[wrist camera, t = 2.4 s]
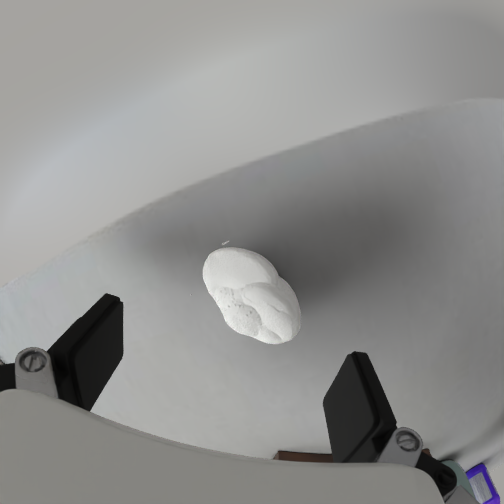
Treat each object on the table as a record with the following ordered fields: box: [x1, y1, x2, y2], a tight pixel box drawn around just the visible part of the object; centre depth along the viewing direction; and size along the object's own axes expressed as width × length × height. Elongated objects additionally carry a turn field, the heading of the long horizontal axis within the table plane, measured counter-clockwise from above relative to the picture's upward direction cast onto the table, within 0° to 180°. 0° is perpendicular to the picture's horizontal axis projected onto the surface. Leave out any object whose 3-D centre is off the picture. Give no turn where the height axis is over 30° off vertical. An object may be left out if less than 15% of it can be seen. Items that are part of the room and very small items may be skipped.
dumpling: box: [191, 240, 301, 344], centre depth 16 cm, size 7×5×4 cm
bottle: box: [466, 464, 500, 504], centre depth 20 cm, size 7×6×17 cm
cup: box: [441, 460, 476, 499], centre depth 21 cm, size 8×8×10 cm
